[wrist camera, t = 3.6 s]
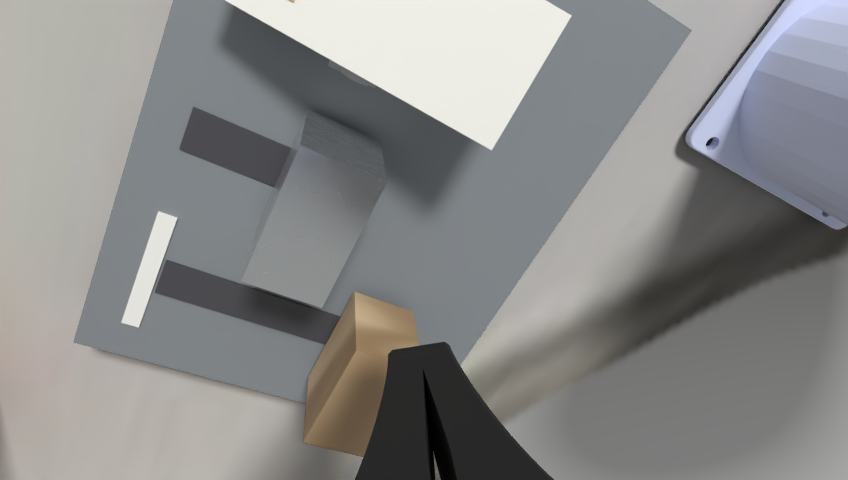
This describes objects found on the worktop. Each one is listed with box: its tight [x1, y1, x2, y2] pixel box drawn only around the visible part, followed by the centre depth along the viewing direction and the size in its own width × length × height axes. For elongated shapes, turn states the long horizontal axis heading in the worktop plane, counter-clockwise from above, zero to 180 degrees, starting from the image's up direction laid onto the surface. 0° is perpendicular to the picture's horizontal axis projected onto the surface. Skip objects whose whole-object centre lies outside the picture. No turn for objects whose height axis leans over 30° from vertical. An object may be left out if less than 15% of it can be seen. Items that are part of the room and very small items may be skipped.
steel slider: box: [241, 109, 387, 308], centre depth 16 cm, size 2×4×3 cm, turn 152°
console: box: [74, 0, 692, 404], centre depth 18 cm, size 14×19×3 cm
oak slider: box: [303, 292, 419, 457], centre depth 19 cm, size 2×4×3 cm, turn 152°
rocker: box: [225, 0, 572, 150], centre depth 13 cm, size 8×4×1 cm, turn 62°
